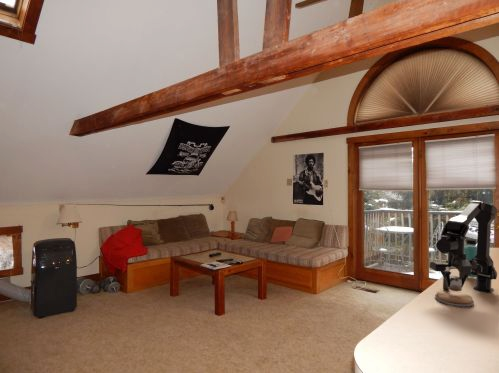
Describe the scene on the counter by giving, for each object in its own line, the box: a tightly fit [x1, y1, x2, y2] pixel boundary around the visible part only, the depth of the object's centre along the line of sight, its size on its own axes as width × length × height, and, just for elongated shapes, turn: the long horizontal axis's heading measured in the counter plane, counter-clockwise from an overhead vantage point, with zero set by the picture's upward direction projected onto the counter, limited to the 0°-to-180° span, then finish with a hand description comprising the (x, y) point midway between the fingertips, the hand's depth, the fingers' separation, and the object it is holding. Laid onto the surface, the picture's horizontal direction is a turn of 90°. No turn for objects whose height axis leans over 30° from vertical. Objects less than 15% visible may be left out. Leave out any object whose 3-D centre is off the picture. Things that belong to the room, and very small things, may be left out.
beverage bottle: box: [464, 238, 477, 278], centre depth 174 cm, size 6×7×20 cm
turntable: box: [436, 277, 474, 304], centre depth 144 cm, size 15×13×6 cm
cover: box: [448, 275, 463, 292], centre depth 143 cm, size 5×5×5 cm
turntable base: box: [434, 293, 475, 309], centre depth 143 cm, size 14×14×1 cm
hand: (454, 286), depth 143 cm, fingers closed on cover, 5 cm apart
